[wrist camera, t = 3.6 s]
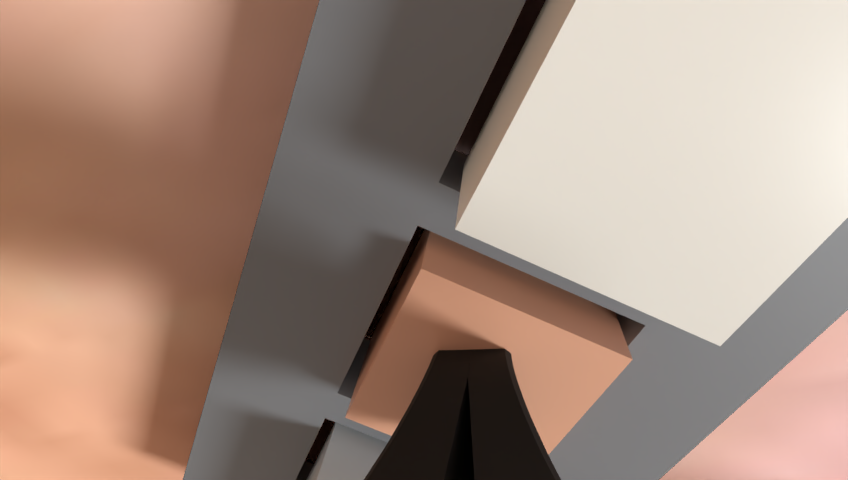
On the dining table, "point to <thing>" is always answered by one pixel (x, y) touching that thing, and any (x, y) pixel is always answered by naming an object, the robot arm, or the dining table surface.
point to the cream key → (669, 151)
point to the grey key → (346, 455)
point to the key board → (437, 212)
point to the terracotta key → (488, 338)
